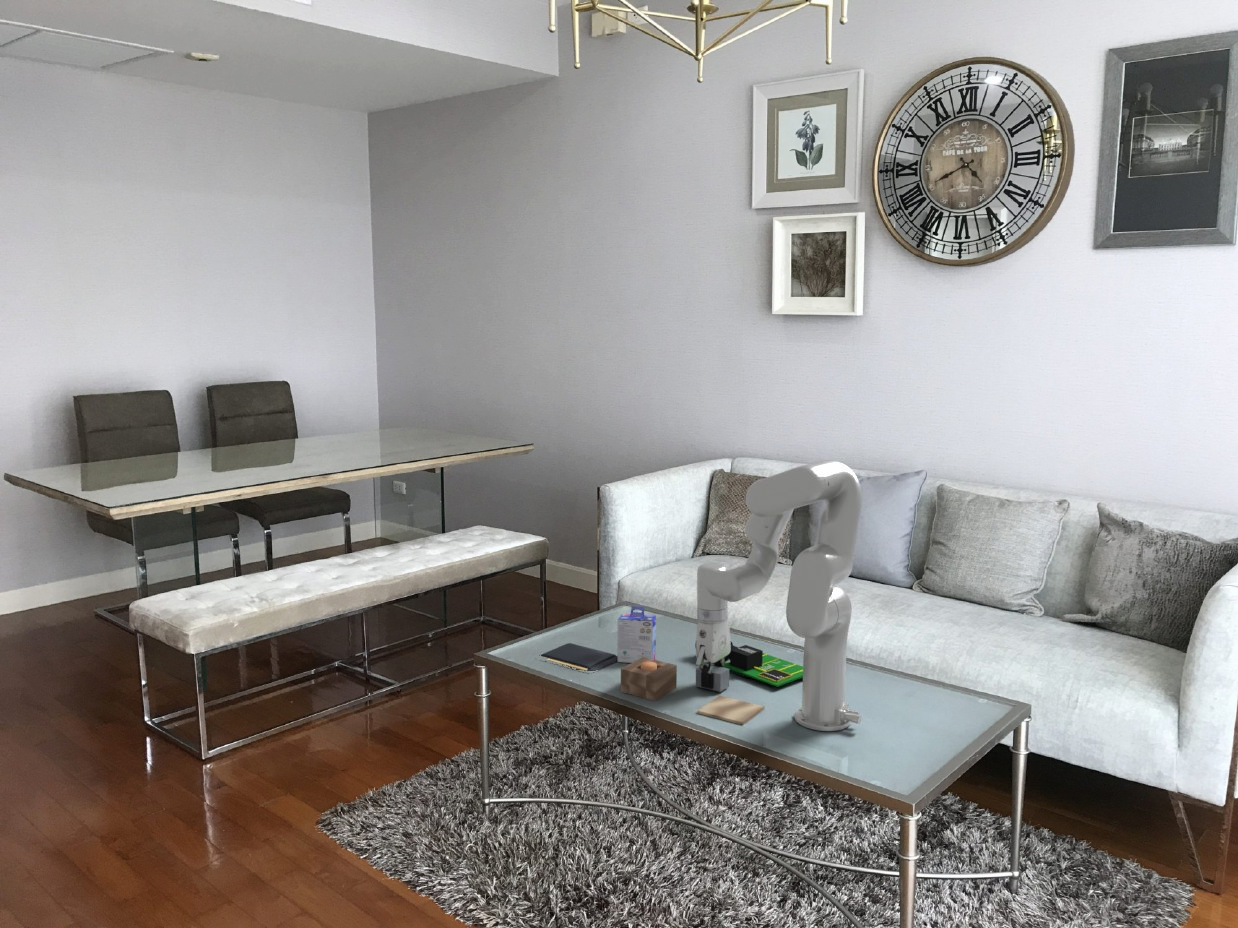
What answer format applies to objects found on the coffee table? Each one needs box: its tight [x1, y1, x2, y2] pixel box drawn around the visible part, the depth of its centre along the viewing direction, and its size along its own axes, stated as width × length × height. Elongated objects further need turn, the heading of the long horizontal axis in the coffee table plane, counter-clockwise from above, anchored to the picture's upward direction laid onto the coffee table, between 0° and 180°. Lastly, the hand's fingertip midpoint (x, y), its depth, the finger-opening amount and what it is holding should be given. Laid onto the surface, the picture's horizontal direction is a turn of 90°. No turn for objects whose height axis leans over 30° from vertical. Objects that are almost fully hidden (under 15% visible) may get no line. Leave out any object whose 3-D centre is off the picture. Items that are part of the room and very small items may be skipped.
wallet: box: [540, 642, 618, 672], centre depth 266 cm, size 20×2×15 cm
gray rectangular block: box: [695, 663, 730, 693], centre depth 244 cm, size 7×4×4 cm, turn 56°
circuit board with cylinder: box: [694, 641, 803, 688], centre depth 258 cm, size 30×7×15 cm
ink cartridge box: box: [616, 606, 657, 664], centre depth 263 cm, size 10×6×14 cm, turn 79°
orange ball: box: [641, 662, 657, 672], centre depth 243 cm, size 4×4×4 cm
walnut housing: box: [620, 657, 678, 702], centre depth 243 cm, size 10×10×6 cm
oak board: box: [696, 695, 765, 726], centre depth 231 cm, size 12×11×1 cm
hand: (712, 683), depth 245 cm, fingers closed on gray rectangular block, 4 cm apart
